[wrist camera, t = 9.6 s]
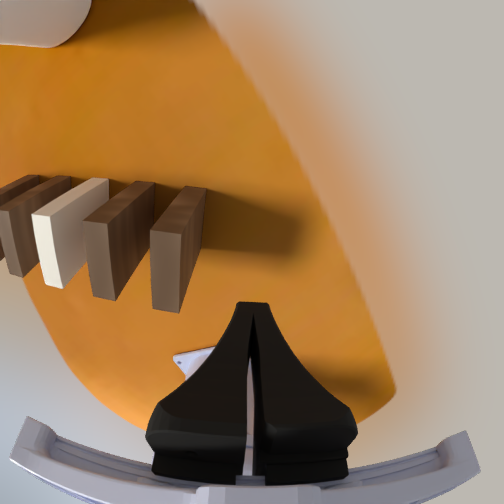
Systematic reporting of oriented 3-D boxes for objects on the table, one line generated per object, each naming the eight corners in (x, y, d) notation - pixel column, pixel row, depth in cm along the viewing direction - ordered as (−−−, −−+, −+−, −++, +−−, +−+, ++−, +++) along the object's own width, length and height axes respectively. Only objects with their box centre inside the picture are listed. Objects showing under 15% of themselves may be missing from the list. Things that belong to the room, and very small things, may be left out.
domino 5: (206, 188, 20) (181, 234, 13) (200, 248, 23) (179, 313, 16) (185, 185, 20) (149, 230, 13) (181, 245, 23) (152, 308, 16)
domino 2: (70, 176, 20) (8, 211, 13) (74, 229, 22) (23, 277, 15) (57, 175, 19) (-5, 209, 12) (61, 228, 22) (9, 273, 15)
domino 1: (38, 175, 19) (-22, 207, 12) (44, 225, 22) (-8, 268, 15) (27, 174, 19) (-32, 206, 12) (33, 223, 22) (-18, 264, 14)
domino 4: (154, 182, 20) (107, 223, 13) (153, 241, 22) (115, 301, 15) (135, 180, 20) (82, 220, 13) (136, 239, 22) (93, 296, 15)
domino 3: (108, 178, 20) (49, 216, 13) (110, 235, 22) (63, 288, 15) (92, 177, 20) (31, 214, 13) (95, 233, 22) (45, 284, 15)
